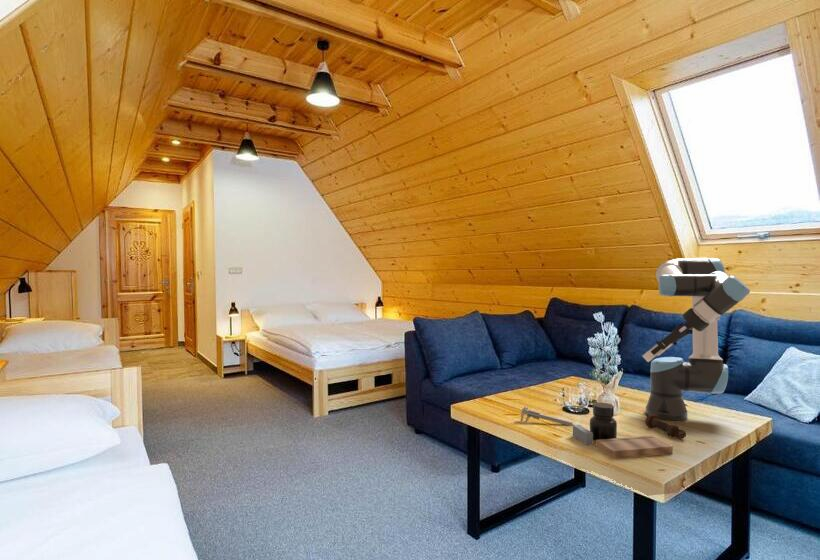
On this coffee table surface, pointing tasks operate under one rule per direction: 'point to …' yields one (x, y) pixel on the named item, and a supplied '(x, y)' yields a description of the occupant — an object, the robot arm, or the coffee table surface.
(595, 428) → the ink bottle
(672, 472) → the coffee table surface
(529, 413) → the caliper
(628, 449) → the board
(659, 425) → the bolt
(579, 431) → the block
